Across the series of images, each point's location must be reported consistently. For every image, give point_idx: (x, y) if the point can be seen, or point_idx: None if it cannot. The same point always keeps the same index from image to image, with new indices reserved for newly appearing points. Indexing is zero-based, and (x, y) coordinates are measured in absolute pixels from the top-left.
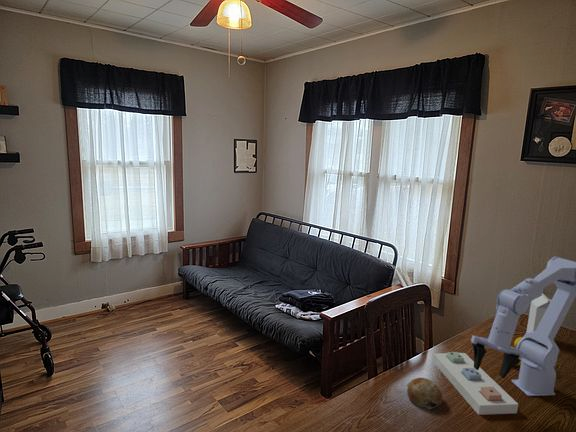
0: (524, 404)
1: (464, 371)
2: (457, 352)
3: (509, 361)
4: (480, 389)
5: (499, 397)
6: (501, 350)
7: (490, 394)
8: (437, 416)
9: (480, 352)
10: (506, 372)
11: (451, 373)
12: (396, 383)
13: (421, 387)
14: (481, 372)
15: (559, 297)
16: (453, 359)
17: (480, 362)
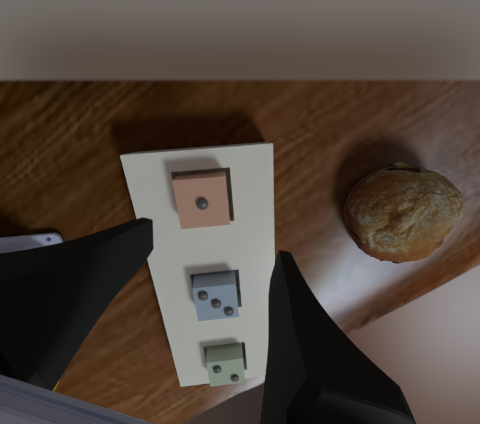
0: (89, 195)
1: (237, 304)
2: (212, 384)
3: (48, 286)
4: (222, 229)
5: (182, 177)
6: (67, 417)
7: (216, 183)
8: (394, 131)
9: (352, 357)
10: (118, 229)
11: None
12: (417, 263)
13: (458, 204)
14: (173, 310)
15: None
16: (240, 354)
17: (289, 280)
